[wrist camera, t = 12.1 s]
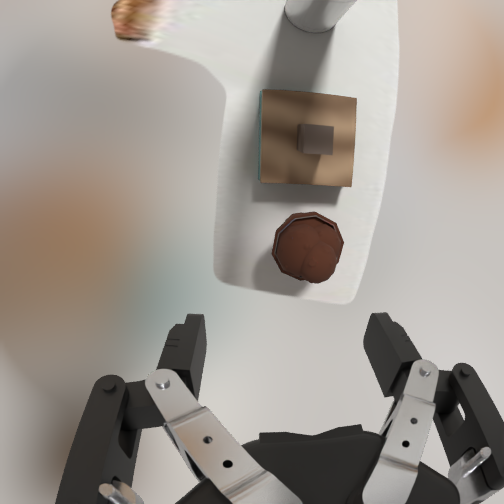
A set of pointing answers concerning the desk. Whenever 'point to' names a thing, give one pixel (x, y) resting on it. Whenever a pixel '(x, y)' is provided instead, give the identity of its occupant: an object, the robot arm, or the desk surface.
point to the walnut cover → (307, 138)
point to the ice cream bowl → (308, 247)
